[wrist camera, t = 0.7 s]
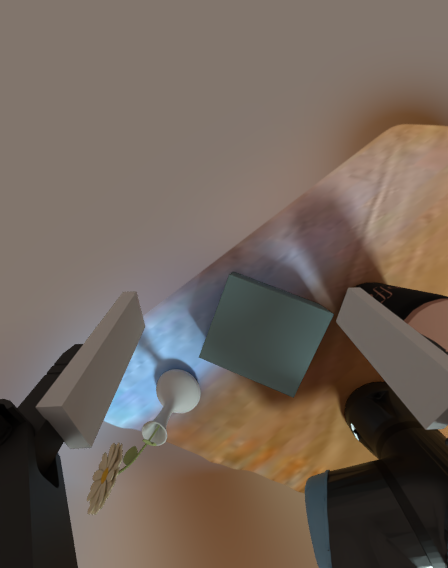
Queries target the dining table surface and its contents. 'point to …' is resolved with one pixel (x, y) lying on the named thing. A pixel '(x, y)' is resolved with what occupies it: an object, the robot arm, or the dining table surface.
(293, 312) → the green riser stand
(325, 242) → the dining table surface
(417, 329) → the coffee jar
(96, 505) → the flower in vase
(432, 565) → the robot arm
